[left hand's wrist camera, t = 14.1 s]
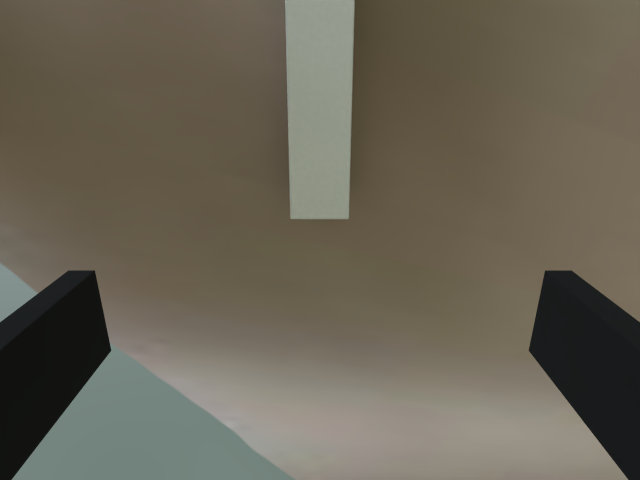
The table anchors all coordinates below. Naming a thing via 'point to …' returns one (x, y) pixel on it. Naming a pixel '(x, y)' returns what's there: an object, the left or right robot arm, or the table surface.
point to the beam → (319, 106)
